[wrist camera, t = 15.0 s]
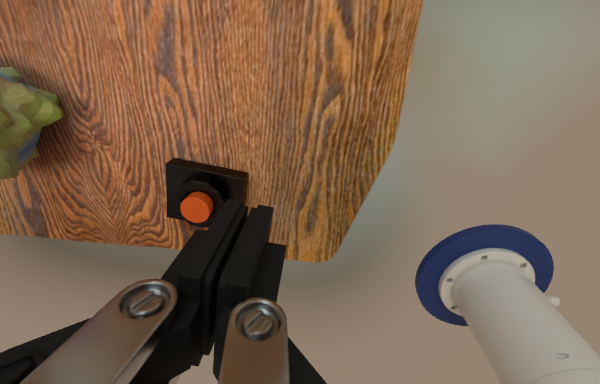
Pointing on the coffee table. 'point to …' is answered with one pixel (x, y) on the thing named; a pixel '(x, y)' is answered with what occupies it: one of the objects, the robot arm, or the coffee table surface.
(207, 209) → the button
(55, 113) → the decorative rock
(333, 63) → the coffee table surface
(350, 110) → the coffee table surface
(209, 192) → the control block
